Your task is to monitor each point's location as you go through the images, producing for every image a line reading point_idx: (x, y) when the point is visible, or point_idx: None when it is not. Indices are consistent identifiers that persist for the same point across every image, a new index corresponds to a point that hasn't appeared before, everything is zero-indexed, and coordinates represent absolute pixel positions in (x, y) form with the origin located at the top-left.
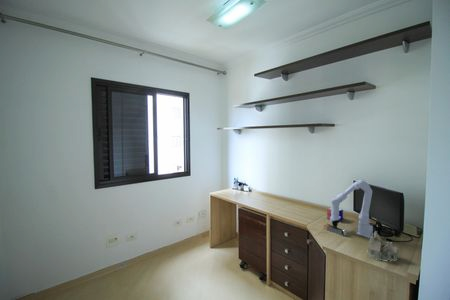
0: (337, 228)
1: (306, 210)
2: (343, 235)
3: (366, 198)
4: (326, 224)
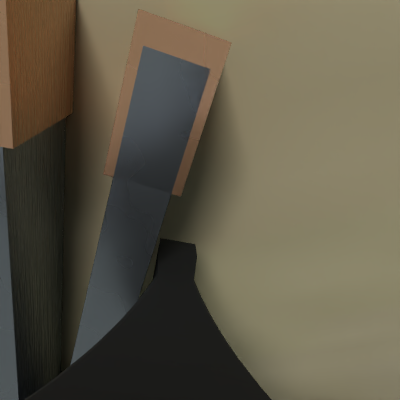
0: None
1: None
2: None
3: None
4: (138, 20)
